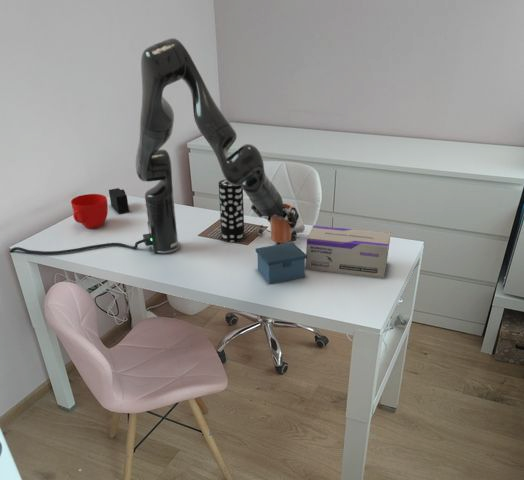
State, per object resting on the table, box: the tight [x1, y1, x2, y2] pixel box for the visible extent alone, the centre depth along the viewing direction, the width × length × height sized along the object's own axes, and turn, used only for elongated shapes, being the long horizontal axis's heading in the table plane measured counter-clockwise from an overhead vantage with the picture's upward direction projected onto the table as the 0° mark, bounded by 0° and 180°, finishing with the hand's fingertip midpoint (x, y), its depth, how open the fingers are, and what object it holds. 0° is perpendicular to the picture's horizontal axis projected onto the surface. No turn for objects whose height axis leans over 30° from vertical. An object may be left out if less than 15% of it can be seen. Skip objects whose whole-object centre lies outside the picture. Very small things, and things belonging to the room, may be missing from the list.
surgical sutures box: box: [305, 225, 391, 279], centre depth 173 cm, size 25×11×11 cm, turn 74°
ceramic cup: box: [70, 193, 109, 229], centre depth 203 cm, size 13×17×10 cm
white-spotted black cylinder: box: [218, 178, 245, 243], centre depth 191 cm, size 8×8×20 cm
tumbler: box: [270, 202, 293, 244], centre depth 163 cm, size 6×6×10 cm
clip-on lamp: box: [255, 222, 306, 245], centre depth 194 cm, size 12×6×18 cm
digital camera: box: [108, 187, 130, 215], centre depth 219 cm, size 10×5×7 cm, turn 30°
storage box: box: [254, 242, 307, 284], centre depth 171 cm, size 13×11×8 cm
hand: (283, 223), depth 164 cm, fingers closed on tumbler, 6 cm apart
